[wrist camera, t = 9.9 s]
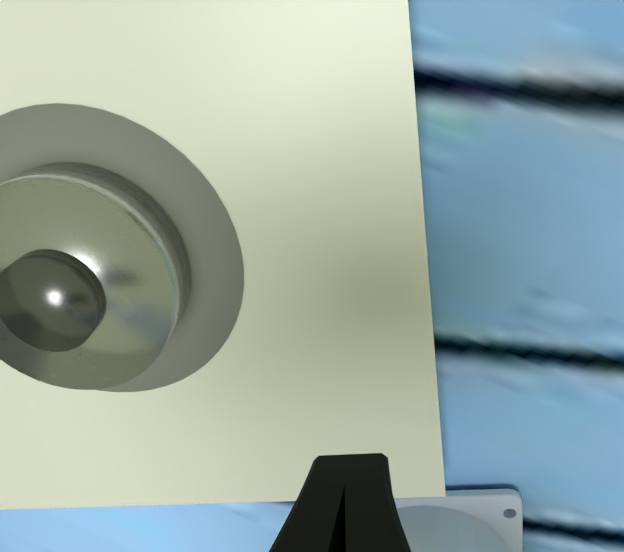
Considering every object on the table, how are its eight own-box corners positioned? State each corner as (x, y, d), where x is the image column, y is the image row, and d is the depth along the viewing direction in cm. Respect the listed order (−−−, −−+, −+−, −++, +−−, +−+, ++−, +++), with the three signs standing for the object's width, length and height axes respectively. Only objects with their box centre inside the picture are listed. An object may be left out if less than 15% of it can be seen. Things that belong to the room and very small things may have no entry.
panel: (442, 467, 24) (446, 500, 22) (-40, 485, 27) (-64, 515, 26) (389, -208, 14) (390, -231, 13) (-331, -47, 18) (-397, -50, 16)
